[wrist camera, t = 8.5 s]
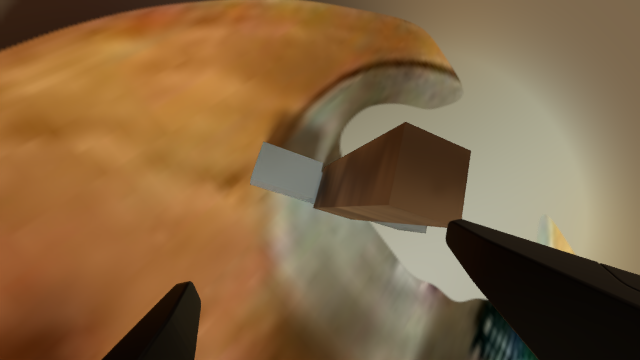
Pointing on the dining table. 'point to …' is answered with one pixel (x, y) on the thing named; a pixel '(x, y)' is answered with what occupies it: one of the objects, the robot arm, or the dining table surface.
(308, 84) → the dining table surface
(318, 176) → the notched rail
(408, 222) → the walnut post
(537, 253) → the robot arm
